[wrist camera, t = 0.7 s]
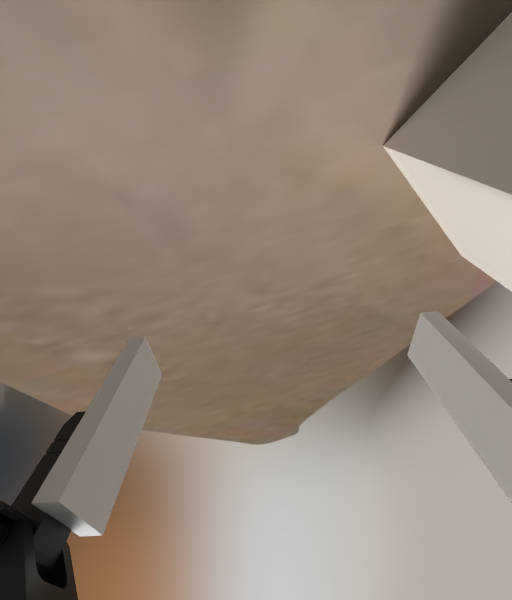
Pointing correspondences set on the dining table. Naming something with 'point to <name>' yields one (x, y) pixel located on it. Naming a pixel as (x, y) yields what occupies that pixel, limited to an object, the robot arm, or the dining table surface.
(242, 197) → the dining table surface
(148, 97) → the dining table surface
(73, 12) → the dining table surface
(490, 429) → the robot arm
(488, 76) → the pedestal
